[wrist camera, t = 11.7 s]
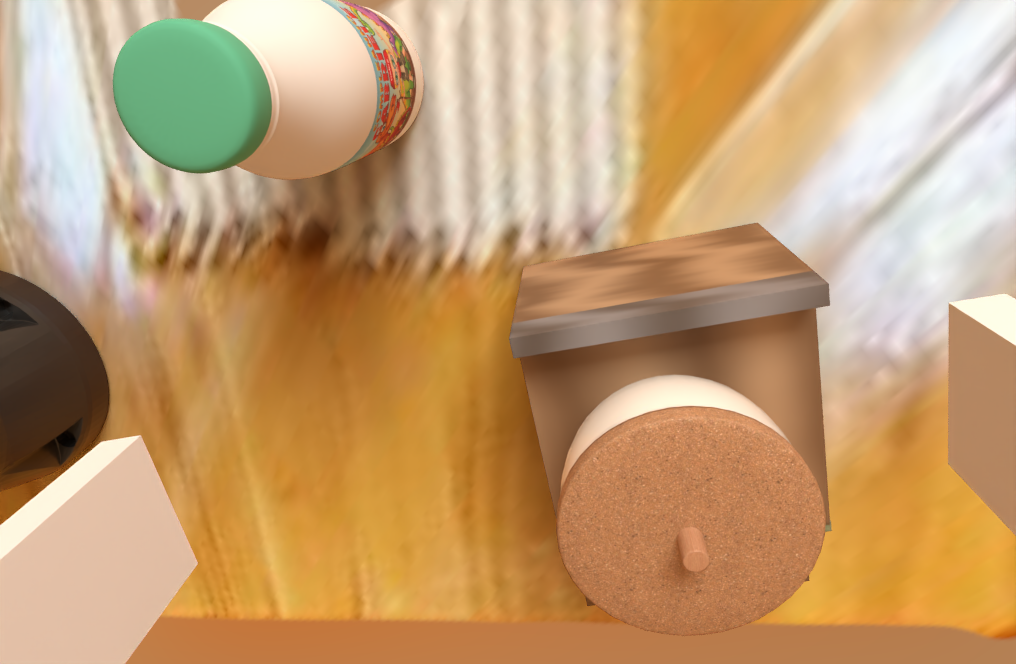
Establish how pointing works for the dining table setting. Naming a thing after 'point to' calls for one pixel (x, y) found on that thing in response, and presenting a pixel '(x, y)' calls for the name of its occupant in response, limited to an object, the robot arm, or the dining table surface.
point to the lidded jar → (686, 508)
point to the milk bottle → (269, 87)
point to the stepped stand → (673, 333)
